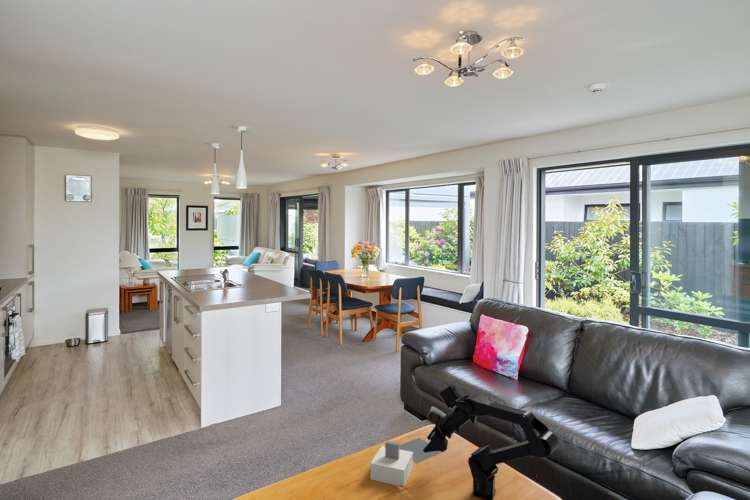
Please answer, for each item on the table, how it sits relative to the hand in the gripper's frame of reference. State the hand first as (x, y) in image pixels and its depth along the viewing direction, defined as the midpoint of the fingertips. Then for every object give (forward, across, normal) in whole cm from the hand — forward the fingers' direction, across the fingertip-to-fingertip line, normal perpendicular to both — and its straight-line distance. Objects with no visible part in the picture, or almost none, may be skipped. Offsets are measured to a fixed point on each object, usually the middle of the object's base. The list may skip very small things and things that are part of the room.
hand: (425, 444), depth 148 cm
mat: (+12, -16, +4) cm, 20 cm away
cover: (+17, +2, 0) cm, 17 cm away
